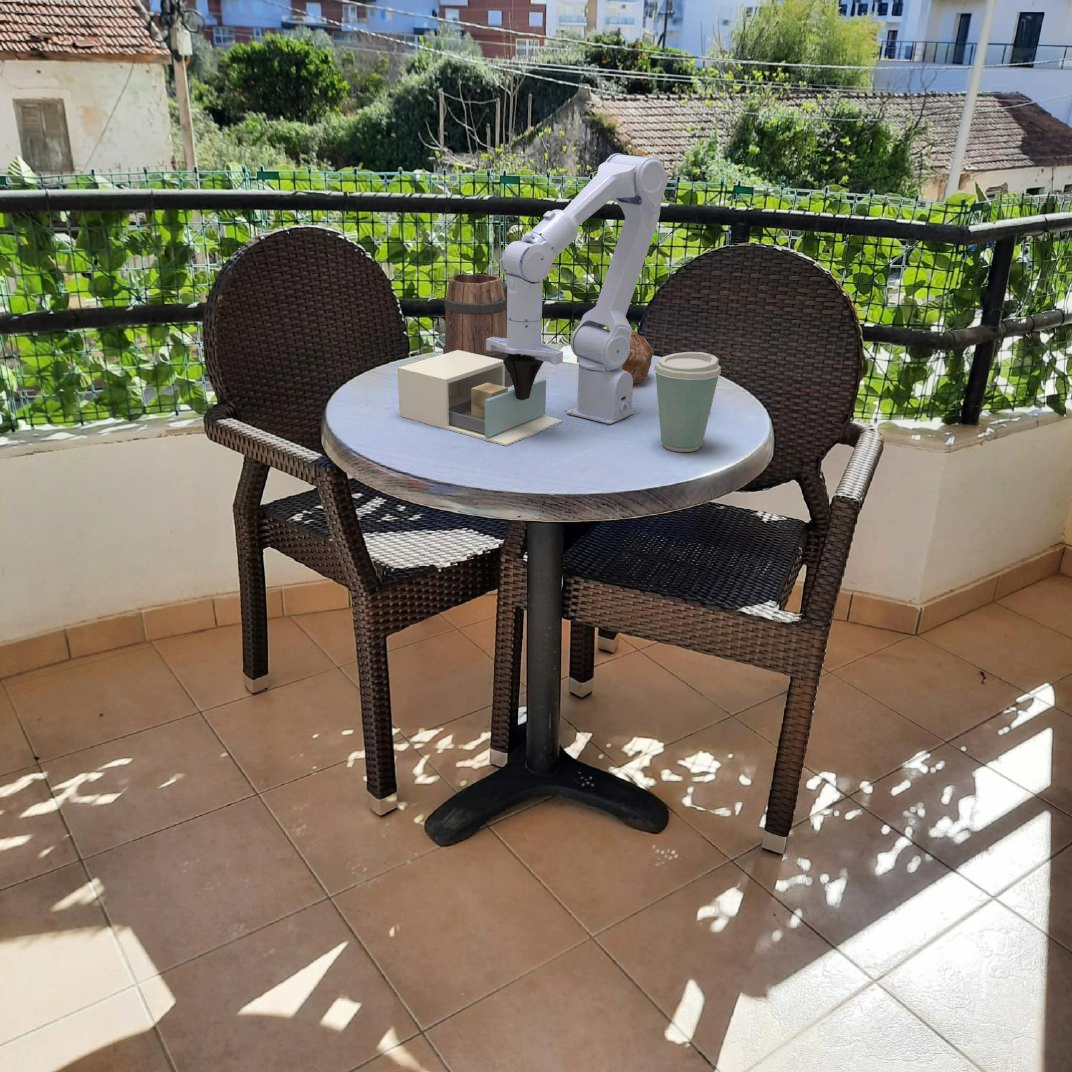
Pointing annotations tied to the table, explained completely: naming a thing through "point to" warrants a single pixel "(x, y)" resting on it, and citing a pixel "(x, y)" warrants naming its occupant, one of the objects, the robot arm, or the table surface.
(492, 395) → the birch block
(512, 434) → the console box
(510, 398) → the teal drawer
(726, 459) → the table surface
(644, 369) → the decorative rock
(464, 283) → the tankard
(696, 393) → the disposable coffee cup
